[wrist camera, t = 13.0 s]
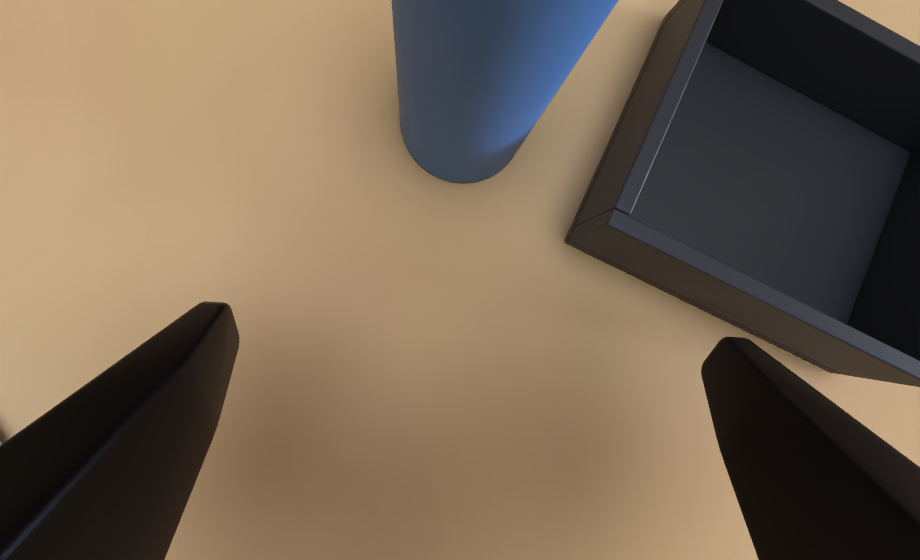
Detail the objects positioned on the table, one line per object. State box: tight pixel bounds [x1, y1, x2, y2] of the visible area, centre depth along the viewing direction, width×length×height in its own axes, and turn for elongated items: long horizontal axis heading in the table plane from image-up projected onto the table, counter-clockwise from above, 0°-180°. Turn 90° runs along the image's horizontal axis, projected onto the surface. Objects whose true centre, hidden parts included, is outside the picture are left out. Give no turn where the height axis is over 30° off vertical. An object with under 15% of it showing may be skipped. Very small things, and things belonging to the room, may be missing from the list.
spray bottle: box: [392, 0, 618, 183], centre depth 11 cm, size 5×5×14 cm
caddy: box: [565, 0, 920, 387], centre depth 17 cm, size 11×13×4 cm
